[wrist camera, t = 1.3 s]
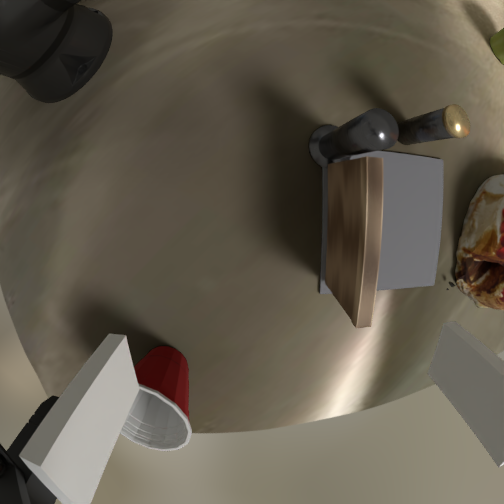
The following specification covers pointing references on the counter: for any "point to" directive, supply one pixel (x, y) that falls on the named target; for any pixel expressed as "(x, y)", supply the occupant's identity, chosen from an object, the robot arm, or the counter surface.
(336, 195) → the gate
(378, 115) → the salt and pepper shakers
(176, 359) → the plastic cup
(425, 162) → the rubber mat
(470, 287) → the strawberry shortcake
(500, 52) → the plant pot
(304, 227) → the counter surface
